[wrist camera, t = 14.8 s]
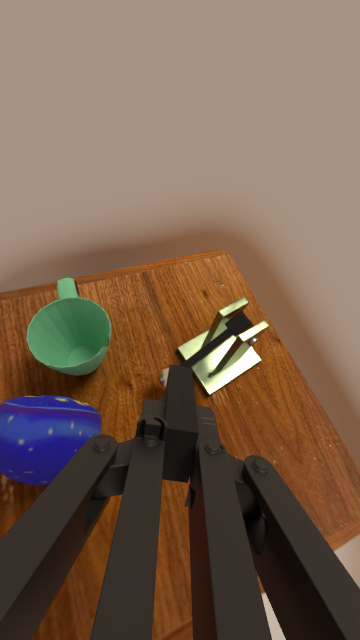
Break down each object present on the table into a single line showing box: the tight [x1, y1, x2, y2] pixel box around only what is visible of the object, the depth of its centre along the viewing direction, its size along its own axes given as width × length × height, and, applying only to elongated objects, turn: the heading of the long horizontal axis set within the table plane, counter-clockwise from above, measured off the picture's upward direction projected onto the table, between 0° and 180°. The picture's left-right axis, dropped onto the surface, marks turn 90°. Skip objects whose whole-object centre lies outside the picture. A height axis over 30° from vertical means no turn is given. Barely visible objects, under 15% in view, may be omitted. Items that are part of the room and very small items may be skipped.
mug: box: [26, 278, 111, 376], centre depth 38 cm, size 15×10×10 cm
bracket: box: [177, 298, 269, 397], centre depth 39 cm, size 11×9×13 cm
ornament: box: [0, 395, 101, 485], centre depth 29 cm, size 11×9×15 cm
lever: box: [157, 311, 253, 391], centre depth 36 cm, size 15×4×4 cm
